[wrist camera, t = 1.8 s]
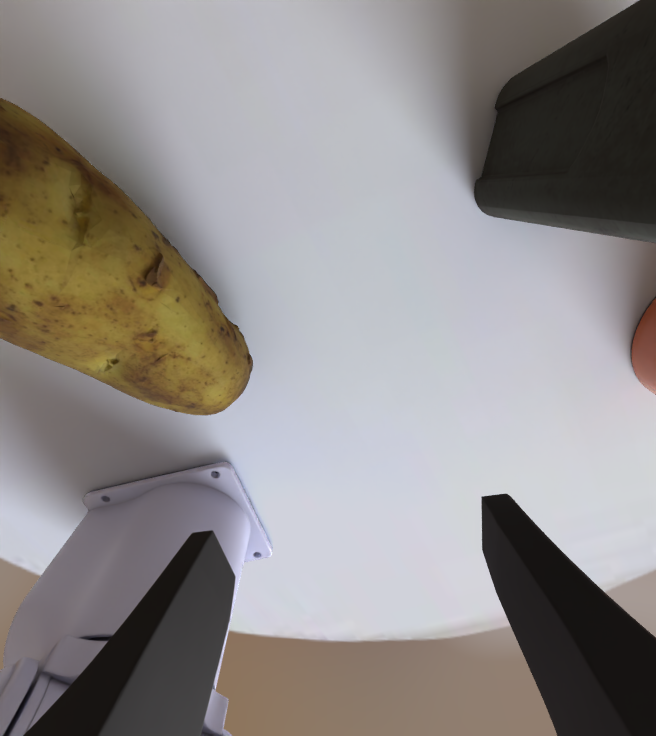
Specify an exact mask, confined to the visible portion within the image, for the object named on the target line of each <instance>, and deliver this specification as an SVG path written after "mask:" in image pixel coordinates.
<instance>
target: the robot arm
mask: <svg viewBox="0 0 656 736" xmlns="http://www.w3.org/2000/svg"><path fill="white" fill-rule="evenodd" d="M213 471H217V472H218V473H214V472H213ZM107 496H108V497H107ZM83 503H84V505H85V506H86V507H87V509H88V510H89V512H88V513H87V514H86V516H85V517H84V518H83V520H82V521H81V522H80V524H79V525H78V527H77V528H76V529H75V531H74V532H73V533H72V535H71V536H70V537H69V539H68V540H67V541H66V543H65V544H64V545H63V547H62V548H61V550H60V551H59V552H58V554H57V555H56V556H55V558H54V559H53V560H52V562H51V563H50V564H49V566H48V567H47V569H46V570H45V571H44V573H43V574H42V575H41V577H40V578H39V579H38V581H37V582H36V584H35V585H34V586H33V588H32V589H31V590H30V592H29V593H28V594H27V596H26V597H25V599H24V600H23V602H22V603H21V605H20V607H19V608H18V610H17V612H16V614H15V616H14V619H13V621H12V624H11V626H10V629H9V632H8V636H7V640H6V644H5V649H4V659H3V663H4V668H3V669H1V670H0V736H232V735H231V734H230V733H229V732H228V731H227V730H225V729H223V727H224V722H225V717H226V711H227V706H228V701H229V700H228V698H226V697H224V696H222V695H220V694H219V693H217V692H216V691H215V690H216V685H217V681H218V676H219V672H220V667H221V662H222V658H223V653H224V649H225V644H226V640H227V636H228V631H229V626H230V622H231V617H232V613H233V608H234V604H235V599H236V595H237V590H238V586H239V581H240V577H241V572H242V568H243V563H244V562H248V561H253V560H258V559H263V558H268V557H270V556H271V554H272V546H271V544H270V542H269V540H268V538H267V536H266V534H265V532H264V530H263V528H262V526H261V524H260V522H259V520H258V517H257V515H256V513H255V511H254V509H253V507H252V505H251V503H250V501H249V499H248V497H247V495H246V493H245V491H244V489H243V487H242V485H241V483H240V481H239V479H238V477H237V475H236V472H235V470H234V468H233V467H232V465H231V464H229V463H227V462H220V463H215V464H211V465H207V466H202V467H198V468H193V469H189V470H185V471H180V472H176V473H171V474H167V475H163V476H158V477H154V478H149V479H145V480H141V481H136V482H132V483H127V484H123V485H119V486H114V487H110V488H105V489H101V490H97V491H92V492H89V493H87V494H86V495H85V496H84V498H83ZM482 550H483V553H484V556H485V559H486V563H487V566H488V569H489V572H490V575H491V578H492V581H493V584H494V587H495V590H496V593H497V595H498V597H499V600H500V602H501V604H502V607H503V609H504V611H505V614H506V616H507V618H508V620H509V623H510V625H511V627H512V630H513V632H514V634H515V636H516V639H517V641H518V643H519V646H520V648H521V650H522V652H523V655H524V657H525V659H526V661H527V664H528V666H529V668H530V671H531V673H532V675H533V677H534V679H535V682H536V684H537V686H538V689H539V691H540V693H541V696H542V698H543V700H544V703H545V705H546V707H547V709H548V712H549V715H550V717H551V720H552V722H553V725H554V727H555V730H556V733H557V736H656V637H654V636H653V635H652V634H651V633H650V632H648V631H647V630H646V629H645V628H644V627H643V626H642V625H640V624H639V623H638V622H637V621H636V620H635V619H634V618H632V617H631V616H630V615H629V614H628V613H627V612H626V611H624V610H623V609H622V608H621V607H620V606H619V605H618V604H617V603H616V602H614V601H613V600H612V599H611V598H610V597H609V596H608V595H607V594H606V593H605V592H604V591H603V590H601V589H600V588H599V587H598V586H597V585H596V584H595V583H594V582H593V581H592V580H591V579H590V578H589V577H588V576H587V575H586V574H585V573H584V572H583V571H581V570H580V569H579V568H578V567H577V566H576V565H575V564H574V563H573V562H572V561H571V560H570V559H569V558H568V557H567V556H566V555H565V554H564V553H563V552H562V551H561V550H560V549H559V548H558V547H557V546H556V545H555V544H554V543H553V542H552V541H551V540H550V539H549V538H548V537H547V536H546V535H545V534H544V532H543V531H542V530H541V529H540V528H539V527H538V526H537V525H536V524H535V523H534V522H533V521H532V520H531V519H530V518H529V516H528V515H527V514H526V513H525V512H524V511H523V510H522V509H521V508H520V507H519V505H518V504H517V503H516V502H515V501H514V500H513V499H512V497H511V496H509V495H508V494H500V495H492V496H484V497H482Z"/></svg>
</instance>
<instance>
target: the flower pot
mask: <svg viewBox="0 0 656 736" xmlns="http://www.w3.org/2000/svg"><path fill="white" fill-rule="evenodd" d="M632 364H633V368H634V371H635V374H636V376H637V378H638V379H639V381H640V382H641V383H642V384H643V386H644V387H645V388H647V389H648V390H649V391H651V392H652V393H654V394H655V395H656V298H655V299H654V300H653V302H652V303H651V304H650V306H649V307H648V308H647V310H646V312H645V313H644V315H643V317H642V318H641V320H640V323H639V325H638V327H637V329H636V332H635V336H634V339H633V344H632Z"/></svg>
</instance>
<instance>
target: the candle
mask: <svg viewBox="0 0 656 736" xmlns="http://www.w3.org/2000/svg"><path fill="white" fill-rule="evenodd" d="M495 109H496V110H497V111H498V114H497V118H496V122H495V126H494V130H493V134H492V138H491V142H490V145H489V149H488V153H487V157H486V161H485V165H484V169H483V173H482V177H481V178H479V179H477V180H476V182H475V189H474V193H475V200H476V202H477V205H478V207H479V208H480V209H481V210H482V212H484V213H485V214H487V215H489V216H493V217H497V218H504V219H510V220H516V221H522V222H528V223H535V224H541V225H547V226H553V227H559V228H566V229H572V230H578V231H584V232H590V233H597V234H603V235H609V236H615V237H621V238H627V239H634V240H640V241H646V242H652V243H656V0H639V1H638V2H636V3H635V4H633V5H631V6H630V7H628V8H626V9H625V10H623V11H621V12H620V13H618V14H616V15H615V16H613V17H611V18H610V19H608V20H606V21H605V22H603V23H601V24H600V25H598V26H596V27H595V28H593V29H591V30H590V31H588V32H587V33H585V34H583V35H582V36H580V37H578V38H577V39H575V40H573V41H572V42H570V43H568V44H567V45H565V46H563V47H562V48H560V49H558V50H557V51H555V52H553V53H552V54H550V55H548V56H547V57H545V58H543V59H542V60H540V61H539V62H537V63H535V64H534V65H532V66H530V67H529V68H527V69H525V70H524V71H522V72H520V73H519V74H517V75H516V76H514V77H513V78H511V79H510V80H509V81H508V82H507V83H506V85H505V86H504V87H503V89H502V90H501V92H500V94H499V95H498V98H497V101H496V104H495Z"/></svg>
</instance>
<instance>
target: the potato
mask: <svg viewBox="0 0 656 736" xmlns="http://www.w3.org/2000/svg"><path fill="white" fill-rule="evenodd" d="M0 338H1V339H3V340H6V341H8V342H10V343H12V344H14V345H17V346H19V347H22V348H24V349H27V350H29V351H32V352H34V353H36V354H39V355H41V356H43V357H45V358H48V359H50V360H53V361H55V362H58V363H60V364H63V365H66V366H68V367H71V368H73V369H76V370H78V371H80V372H82V373H84V374H86V375H88V376H91V377H93V378H95V379H97V380H99V381H101V382H103V383H106V384H108V385H110V386H112V387H113V388H115V389H117V390H119V391H121V392H123V393H126V394H128V395H130V396H132V397H134V398H137V399H139V400H142V401H144V402H147V403H149V404H152V405H155V406H158V407H162V408H166V409H170V410H173V411H175V412H181V413H186V414H193V415H211V414H216V413H218V412H221V411H223V410H225V409H226V408H227V407H228V406H230V405H231V404H232V403H233V402H234V401H235V400H236V399H237V398H238V397H239V396H240V395H241V394H242V393H243V391H244V390H245V388H246V386H247V384H248V381H249V378H250V373H251V371H252V366H253V360H252V357H251V356H250V354H249V350H248V347H247V345H246V342H245V340H244V336H243V335H242V333H241V332H240V331H239V328H238V326H237V325H234V324H233V323H231V322H230V321H229V320H228V319H227V318H226V317H225V315H224V314H223V313H222V311H221V309H220V307H219V306H218V299H217V296H216V294H215V293H214V291H213V290H212V289H211V288H210V287H209V286H208V285H207V284H206V283H205V281H204V280H203V279H202V277H201V276H200V275H199V274H198V273H197V272H196V271H195V270H193V269H192V268H191V267H190V266H189V265H188V264H187V263H186V262H185V260H184V259H183V258H182V257H181V256H180V254H179V253H178V251H177V249H176V248H174V247H173V246H172V245H171V244H170V242H169V241H168V240H167V239H166V238H165V237H164V236H163V235H162V234H161V233H160V232H159V230H158V229H157V228H156V227H155V226H154V225H153V223H152V222H151V220H150V219H149V218H148V217H147V216H146V215H145V214H144V213H143V212H142V211H141V210H140V209H139V208H138V207H137V206H136V205H135V203H134V202H133V201H132V200H131V199H130V198H129V197H128V196H127V195H126V194H125V193H124V192H123V191H122V190H121V189H120V188H119V187H118V186H117V185H115V184H114V183H113V182H112V181H110V180H109V179H108V178H107V177H105V176H104V175H103V174H102V173H100V172H99V171H98V170H97V169H96V168H95V167H94V166H92V165H91V164H90V163H89V162H88V161H87V160H86V159H85V158H84V157H83V156H82V155H81V154H80V153H78V152H77V151H76V150H75V149H74V148H73V147H72V146H71V145H70V144H69V143H67V142H66V141H65V140H64V139H63V138H61V137H60V136H59V135H58V134H56V133H55V132H54V131H53V130H52V129H50V128H49V127H48V126H47V125H45V124H44V123H43V122H41V121H40V120H39V119H37V118H36V117H34V116H33V115H31V114H30V113H28V112H26V111H25V110H23V109H22V108H20V107H19V106H17V105H15V104H13V103H11V102H8V101H6V100H4V99H2V98H0Z"/></svg>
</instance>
